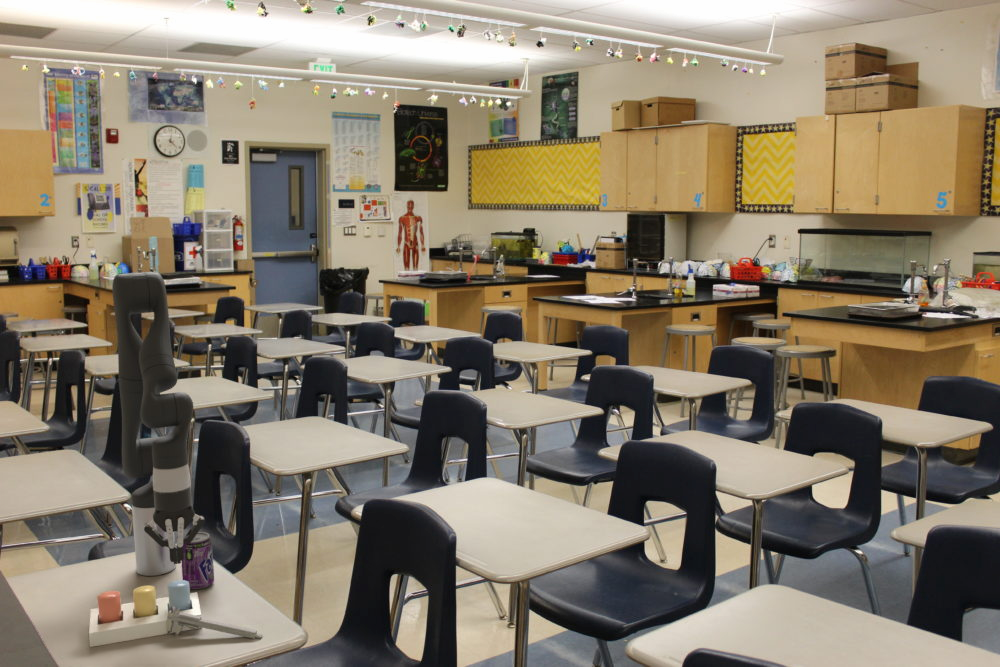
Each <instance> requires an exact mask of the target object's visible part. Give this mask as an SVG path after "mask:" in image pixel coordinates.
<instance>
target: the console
mask: <svg viewBox="0 0 1000 667" xmlns="http://www.w3.org/2000/svg"><path fill="white" fill-rule="evenodd" d="M198 595H199V594H198V592H197V591H196V592H190V604H191V609H189V610H183V611H179V614H180V613H181V612H183V613H187V614H192V615H196V616H200V617H202V611H201V606H200V600H199V596H198ZM156 609H157V615H153V616H147V617H141V618H135V611H134V601H133V602H129V603H128V602H126V603H121V614H122V621H117V622H111V623H105V624H100V622H99V610H98V607H96V608H95V607H94V608H91V609H90V614H89V619H90V620H89V629H88V636H89V647H90V648H92V647H97V646H103V645H111V644H115V643H120V642H127V641H132V640H139V639H145V638H150V637H155V636H156V637H157V636H162V635H169V634H168V633H167V617H168V612H169V596H166V597H165V596H164V597H160V598H159V597H158V598H156ZM177 624H178V622H175V621H174V623H173V628H172V632H171V634H173V633H176V628H177ZM201 628H202V627H200V628H199V629H201ZM202 629H203V628H202ZM190 630H191V631H192V629H190V628H188V627H187V626H185V625H184V626H183V628H182V630H181V632H186V631H190Z"/></svg>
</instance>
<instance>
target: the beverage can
mask: <svg viewBox="0 0 1000 667" xmlns="http://www.w3.org/2000/svg"><path fill="white" fill-rule="evenodd" d="M184 536H186V534H185V535H184ZM210 536H211V535H210V534H209V533H208V532H203V531H202V532H201V531H199V532H198V533H197V534H196V536H195V537H194V539H193V540H192V541H191V543H187V544H185V545H184V547H183V550H184V559H183V560H182V561H181V573H182V574H181V575H182V580H185V581H188V582H189V588H190V590H200V589H201V590H202V589H205V588H207V587H209V586H210V585H212V584H213V583H214V582H215V569H214V555H213V553H214V552H213V542H212V540H211V538H210Z"/></svg>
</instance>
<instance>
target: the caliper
mask: <svg viewBox="0 0 1000 667" xmlns="http://www.w3.org/2000/svg"><path fill="white" fill-rule="evenodd" d="M179 610H180V607H179V608H178V609H177V610H176V608H175V606H173V607H172V610H170V611H169V612H168V617H167V633H168V634H167V635H169V636H170V635H171V634H172V633H171V632H172V628H173V623H174V621H175V622H178V624H177V628H176V632H175V636H179V634H180V633H181V632H182V631H181V630H182V628H183V626H184V625H185V626H187V627H188V628H190V629H191V630H195V631H198V630H199V629H201V628H200V627H202V629H206V630H210V631H211V630H212V631H217V632H221V633H225V634H230V635H234V636H239V637H244V638H247V639H253V638H255V639H256V638H258V639H261V638H262V637H263V635H264V634H262V633H259V632H258V630H256V629H251V628H246V627H242V626H237V625H233V624H228V623H224V622H219V621H214V620H209V619H205V618H202V616H201V617H200V616H196V615H192V614H187V613H183V612H181V613H180V614H179Z"/></svg>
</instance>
